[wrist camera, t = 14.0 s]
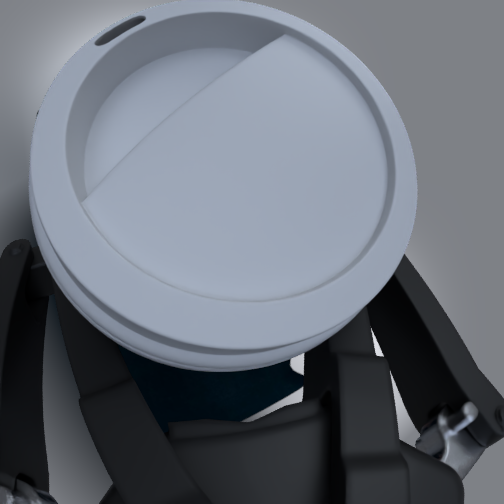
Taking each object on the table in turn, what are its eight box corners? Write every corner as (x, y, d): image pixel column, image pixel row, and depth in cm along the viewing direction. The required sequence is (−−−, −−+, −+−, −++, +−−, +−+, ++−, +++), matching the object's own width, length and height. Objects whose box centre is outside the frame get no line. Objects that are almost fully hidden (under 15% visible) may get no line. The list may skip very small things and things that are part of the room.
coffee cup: (216, 160, 20) (299, -20, 6) (283, 277, 21) (480, 231, 6) (94, 220, 18) (-19, 65, 3) (162, 349, 18) (154, 495, 3)
